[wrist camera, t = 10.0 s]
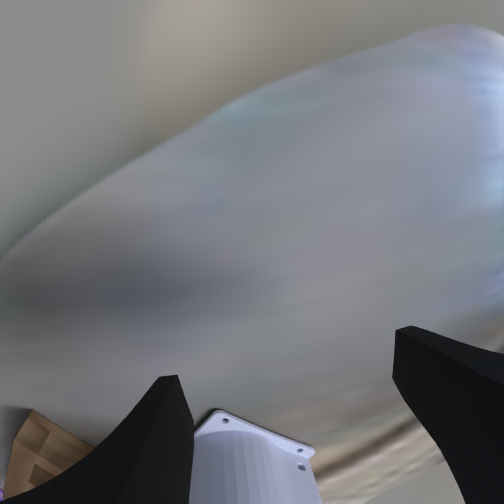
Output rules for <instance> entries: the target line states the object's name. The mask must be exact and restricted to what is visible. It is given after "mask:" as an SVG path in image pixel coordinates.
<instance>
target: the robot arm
mask: <svg viewBox="0 0 504 504" xmlns="http://www.w3.org/2000/svg"><path fill="white" fill-rule="evenodd" d="M392 378H393V380H394V382H395V384H396V386H397V388H398V390H399V392H400V394H401V395H402V397H403V399H404V401H405V402H406V403H407V405H408V406H409V407H410V409H411V410H412V412H413V413H414V414H415V416H416V417H417V418H418V420H419V421H420V422H421V424H422V425H423V426H424V428H425V429H426V430H427V432H428V433H429V434H430V436H431V437H432V438H433V440H434V441H435V443H436V444H437V446H438V447H439V449H440V450H441V452H442V454H443V456H444V458H445V460H446V461H447V463H448V465H449V467H450V469H451V471H452V473H453V475H454V478H455V480H456V482H457V484H458V486H459V488H460V491H461V493H462V496H463V498H464V501H465V504H504V354H501V353H496V352H492V351H488V350H485V349H481V348H477V347H474V346H471V345H468V344H465V343H462V342H459V341H456V340H453V339H450V338H447V337H444V336H442V335H439V334H436V333H433V332H430V331H428V330H425V329H422V328H418V327H415V326H407V327H404V328H401V329H398V330H396V333H395V350H394V363H393V375H392ZM225 418H226V419H227V420H223V419H225ZM314 453H315V450H314V448H313V447H310V446H307V445H305V444H302V443H299V442H296V441H294V440H291V439H288V438H286V437H283V436H280V435H278V434H275V433H273V432H270V431H268V430H265V429H263V428H261V427H258V426H256V425H254V424H251V423H249V422H247V421H244V420H242V419H240V418H237V417H235V416H233V415H231V414H229V413H227V412H224V411H222V410H217V411H214V412H213V413H212V414H211V415H210V416H209V417H208V418H207V419H206V421H205V422H204V423H203V424H202V425H201V426H200V427H199V428H198V429H197V430H196V431H195V432H194V420H193V418H192V415H191V412H190V410H189V407H188V404H187V401H186V398H185V396H184V393H183V390H182V387H181V384H180V381H179V378H178V375H171V376H162V377H159V378H158V379H157V380H156V381H155V382H154V384H153V385H152V386H151V387H150V389H149V390H148V391H147V392H146V394H145V395H144V396H143V397H142V399H141V400H140V401H139V402H138V404H137V405H136V406H135V407H134V408H133V410H132V411H131V412H130V413H129V414H128V416H127V417H126V418H125V419H124V420H123V421H122V422H121V423H120V424H119V425H118V426H117V427H116V428H115V429H114V431H113V432H112V433H111V434H110V435H109V436H108V437H107V438H106V439H105V440H104V441H103V442H101V443H100V444H99V445H98V446H97V447H96V448H95V449H93V450H92V451H91V452H90V453H89V454H88V455H86V456H85V457H84V458H82V459H81V460H80V461H78V462H77V463H75V464H74V465H72V466H71V467H70V468H68V469H67V470H65V471H64V472H62V473H61V474H59V475H57V476H56V477H54V478H52V479H50V480H49V481H47V482H45V483H43V484H41V485H39V486H37V487H35V488H33V489H31V490H28V491H26V492H24V493H21V494H18V495H16V496H13V497H10V498H8V499H5V500H2V501H0V504H323V503H322V500H321V497H320V494H319V491H318V488H317V484H316V481H315V478H314V475H313V472H312V469H311V465H310V462H309V458H310V457H311V456H312V455H314Z"/></svg>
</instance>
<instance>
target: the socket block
mask: <svg viewBox="0 0 504 504" xmlns="http://www.w3.org/2000/svg"><path fill="white" fill-rule="evenodd" d="M93 449H95V448H94V447H93V446H91V445H89V444H87V443H85V442H84V441H82V440H80V439H79V438H77V437H75V436H73V435H72V434H70V433H68V432H67V431H65V430H64V429H62V428H60V427H59V426H57V425H56V424H54V423H53V422H51V421H50V420H48V419H47V418H45V417H44V416H42V415H41V414H39V413H38V412H36V411H35V410H34V409H33V410H32V412H31V413H30V415H29V416H28V418H27V420H26V421H25V423H24V424H23V426H22V428H21V429H20V431H19V432H18V434H17V436H16V437H15V439H14V443H13V447H12V451H11V455H10V460H9V465H8V469H7V474H6V480H5V485H4V491H3V497H2V498H4V499H8V498H10V497H13V496H16V495H18V494H21V493H24V492H26V491H28V490H31V489H33V488H35V487H37V486H39V485H41V484H43V483H45V482H47V481H49V480H50V479H52V478H54V477H56V476H57V475H59V474H61V473H62V472H64V471H65V470H67V469H68V468H70V467H71V466H72V465H74V464H75V463H77V462H78V461H80V460H81V459H82V458H84V457H85V456H86V455H88V454H89V453H90V452H91V451H92V450H93Z"/></svg>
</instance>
